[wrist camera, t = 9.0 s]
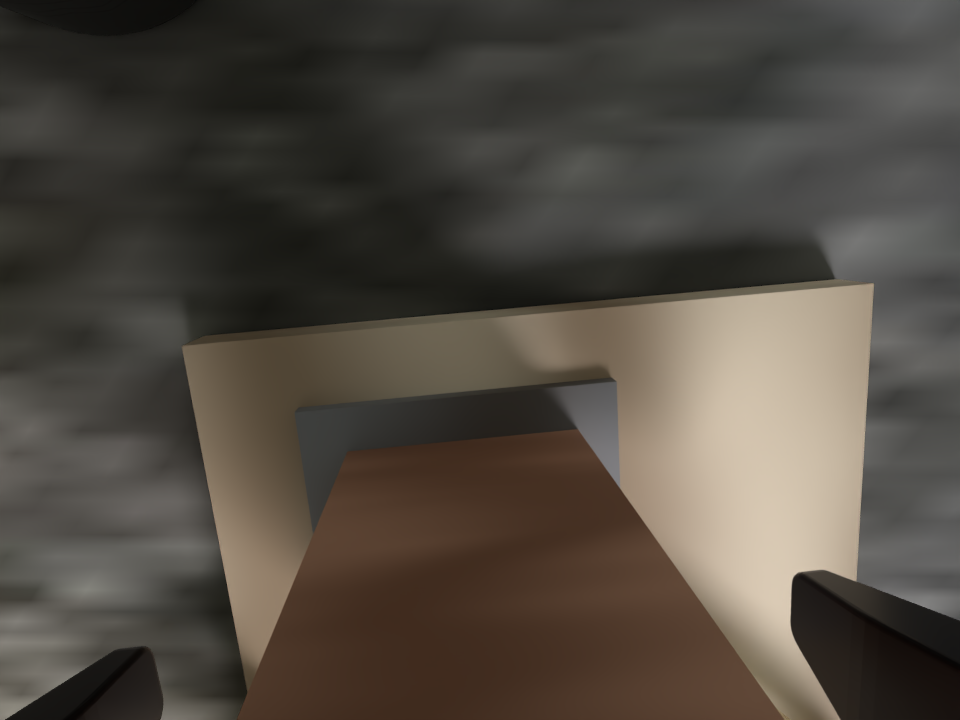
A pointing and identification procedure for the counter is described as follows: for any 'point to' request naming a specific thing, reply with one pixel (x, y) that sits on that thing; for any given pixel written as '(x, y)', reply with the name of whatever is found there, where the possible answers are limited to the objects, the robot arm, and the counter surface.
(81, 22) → the drinking cup
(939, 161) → the counter surface
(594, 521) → the block
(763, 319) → the beige board
